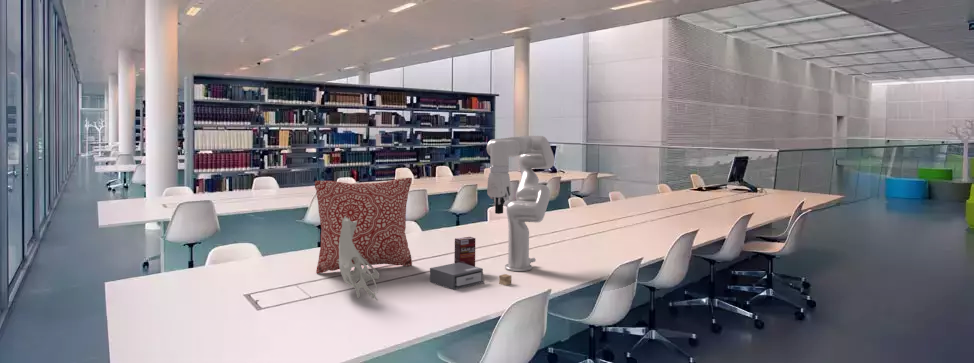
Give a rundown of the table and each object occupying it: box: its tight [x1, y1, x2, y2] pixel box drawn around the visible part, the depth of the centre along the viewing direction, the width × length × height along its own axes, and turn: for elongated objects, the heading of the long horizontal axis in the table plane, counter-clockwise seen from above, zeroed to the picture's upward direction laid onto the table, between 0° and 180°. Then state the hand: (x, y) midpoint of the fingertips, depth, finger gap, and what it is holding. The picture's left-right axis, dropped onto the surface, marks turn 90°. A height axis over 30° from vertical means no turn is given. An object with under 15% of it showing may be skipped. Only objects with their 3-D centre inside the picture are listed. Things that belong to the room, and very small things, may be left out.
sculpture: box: [339, 216, 381, 302], centre depth 229 cm, size 32×18×30 cm, turn 17°
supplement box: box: [453, 236, 476, 267], centre depth 260 cm, size 9×5×16 cm, turn 126°
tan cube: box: [498, 273, 512, 286], centre depth 243 cm, size 4×4×4 cm
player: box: [429, 262, 484, 291], centre depth 245 cm, size 16×16×6 cm
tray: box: [455, 272, 481, 286], centre depth 244 cm, size 13×15×4 cm
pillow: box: [314, 177, 413, 274], centre depth 265 cm, size 44×16×42 cm, turn 112°
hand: (499, 213), depth 245 cm, fingers closed
